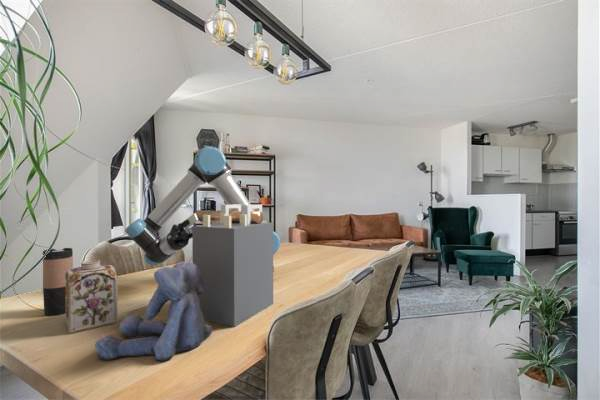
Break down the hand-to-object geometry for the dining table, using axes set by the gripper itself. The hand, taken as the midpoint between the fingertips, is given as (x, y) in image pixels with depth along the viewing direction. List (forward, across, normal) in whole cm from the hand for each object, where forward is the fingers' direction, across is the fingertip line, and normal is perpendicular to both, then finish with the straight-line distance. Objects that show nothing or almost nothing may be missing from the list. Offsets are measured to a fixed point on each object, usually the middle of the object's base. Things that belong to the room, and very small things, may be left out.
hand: (210, 215), depth 111 cm
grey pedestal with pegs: (-2, +5, -34) cm, 34 cm away
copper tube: (+6, -1, -5) cm, 8 cm away
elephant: (-5, +31, -32) cm, 45 cm away
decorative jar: (-30, +32, -18) cm, 47 cm away
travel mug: (-45, +32, -9) cm, 56 cm away
